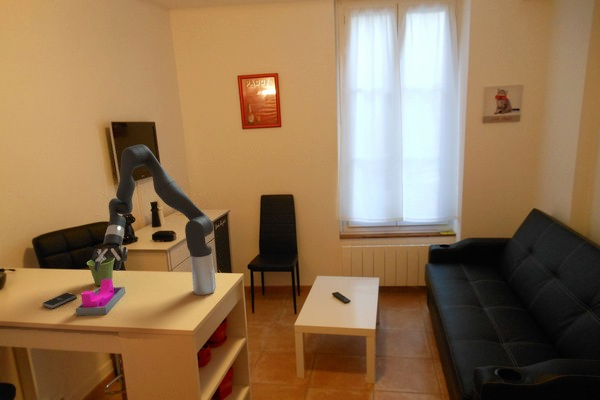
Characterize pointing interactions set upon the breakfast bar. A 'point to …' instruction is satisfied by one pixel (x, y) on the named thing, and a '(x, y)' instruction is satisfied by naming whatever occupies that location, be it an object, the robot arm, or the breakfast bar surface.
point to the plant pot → (102, 270)
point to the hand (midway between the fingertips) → (106, 270)
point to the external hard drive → (59, 300)
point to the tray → (101, 310)
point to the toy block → (99, 295)
